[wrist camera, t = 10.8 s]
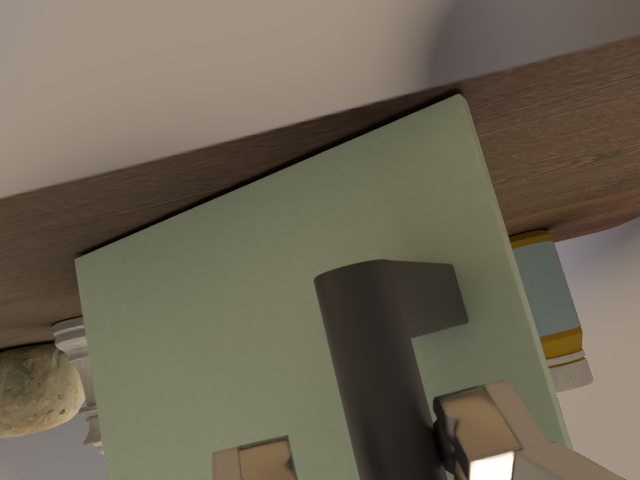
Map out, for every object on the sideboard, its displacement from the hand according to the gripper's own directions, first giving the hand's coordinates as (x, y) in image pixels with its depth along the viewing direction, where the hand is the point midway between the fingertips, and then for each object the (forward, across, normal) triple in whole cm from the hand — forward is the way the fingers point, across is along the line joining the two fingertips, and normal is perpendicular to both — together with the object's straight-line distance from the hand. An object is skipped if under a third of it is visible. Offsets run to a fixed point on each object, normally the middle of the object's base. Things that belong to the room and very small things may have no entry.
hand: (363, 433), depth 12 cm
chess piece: (+30, -15, -17) cm, 38 cm away
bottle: (+37, +24, -24) cm, 50 cm away
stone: (+38, -24, -25) cm, 51 cm away
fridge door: (+10, -3, +1) cm, 11 cm away
